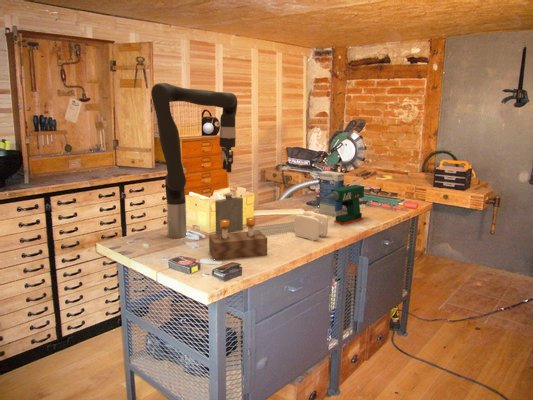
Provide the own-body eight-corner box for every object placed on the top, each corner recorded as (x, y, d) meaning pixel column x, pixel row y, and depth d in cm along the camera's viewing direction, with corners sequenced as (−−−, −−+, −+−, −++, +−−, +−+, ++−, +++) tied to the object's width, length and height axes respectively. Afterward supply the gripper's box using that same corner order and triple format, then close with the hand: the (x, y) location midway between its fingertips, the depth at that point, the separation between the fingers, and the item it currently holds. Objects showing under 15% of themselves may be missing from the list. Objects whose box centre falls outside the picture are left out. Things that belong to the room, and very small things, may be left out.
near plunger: (221, 254, 195) (221, 222, 192) (219, 251, 199) (219, 219, 196) (230, 253, 197) (230, 221, 193) (228, 250, 200) (228, 219, 197)
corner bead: (253, 238, 223) (253, 229, 222) (246, 233, 231) (246, 224, 230) (303, 232, 235) (303, 223, 233) (295, 227, 242) (295, 219, 241)
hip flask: (217, 234, 226) (217, 196, 222) (213, 232, 230) (213, 195, 225) (243, 229, 235) (243, 193, 231) (240, 228, 239) (239, 192, 234)
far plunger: (247, 252, 199) (247, 220, 196) (245, 249, 203) (245, 217, 199) (256, 251, 200) (256, 219, 197) (253, 248, 204) (253, 217, 201)
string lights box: (342, 214, 269) (345, 173, 263) (335, 217, 263) (338, 174, 257) (324, 210, 277) (326, 170, 271) (317, 213, 272) (319, 171, 266)
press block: (214, 260, 191) (214, 243, 189) (209, 251, 202) (209, 234, 200) (267, 255, 198) (267, 238, 196) (259, 246, 209) (259, 230, 207)
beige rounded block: (292, 235, 227) (293, 214, 224) (304, 231, 234) (305, 210, 232) (316, 242, 217) (317, 219, 214) (328, 237, 225) (329, 215, 222)
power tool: (327, 229, 238) (329, 193, 233) (318, 226, 243) (319, 191, 238) (363, 219, 258) (365, 186, 254) (353, 217, 263) (355, 184, 259)
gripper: (216, 135, 211) (216, 168, 214) (222, 137, 198) (222, 173, 201) (232, 135, 213) (231, 168, 217) (239, 138, 200) (238, 173, 203)
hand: (226, 170), depth 209 cm, fingers open, 8 cm apart
